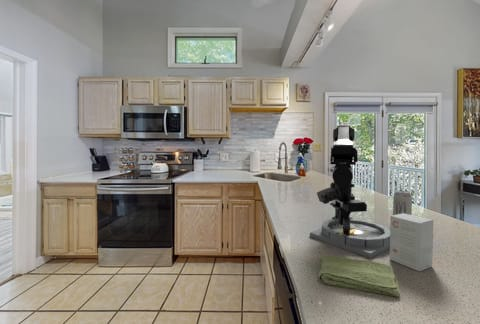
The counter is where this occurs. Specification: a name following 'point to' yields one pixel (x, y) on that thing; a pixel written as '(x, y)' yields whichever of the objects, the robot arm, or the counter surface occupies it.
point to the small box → (411, 241)
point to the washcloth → (358, 275)
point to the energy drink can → (402, 203)
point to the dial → (355, 229)
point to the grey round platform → (355, 238)
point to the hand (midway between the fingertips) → (341, 224)
